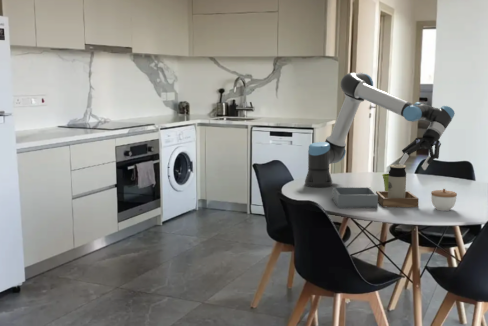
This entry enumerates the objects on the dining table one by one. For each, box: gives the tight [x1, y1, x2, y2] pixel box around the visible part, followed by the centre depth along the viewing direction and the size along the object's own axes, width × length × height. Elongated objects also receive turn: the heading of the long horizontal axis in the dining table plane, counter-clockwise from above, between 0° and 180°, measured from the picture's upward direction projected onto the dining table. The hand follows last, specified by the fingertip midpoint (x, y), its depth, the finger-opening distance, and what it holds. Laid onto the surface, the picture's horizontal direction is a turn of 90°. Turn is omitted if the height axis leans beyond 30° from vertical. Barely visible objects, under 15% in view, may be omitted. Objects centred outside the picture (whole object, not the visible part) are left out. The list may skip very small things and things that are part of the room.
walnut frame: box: [375, 190, 420, 208], centre depth 254 cm, size 16×16×4 cm
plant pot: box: [381, 173, 389, 191], centre depth 280 cm, size 9×9×9 cm
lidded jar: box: [430, 188, 458, 212], centre depth 241 cm, size 11×11×9 cm
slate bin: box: [332, 186, 379, 209], centre depth 253 cm, size 18×18×6 cm
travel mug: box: [388, 164, 407, 198], centre depth 253 cm, size 8×8×18 cm
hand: (411, 166), depth 255 cm, fingers open, 13 cm apart
